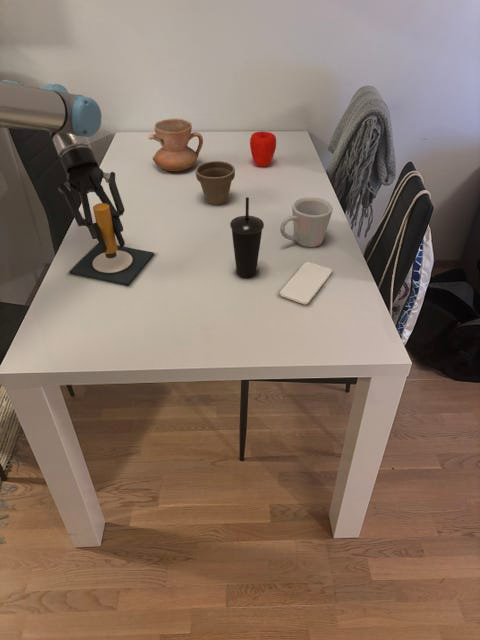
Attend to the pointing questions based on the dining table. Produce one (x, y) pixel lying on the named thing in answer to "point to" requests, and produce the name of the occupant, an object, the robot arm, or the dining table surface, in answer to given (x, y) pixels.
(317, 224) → the mug
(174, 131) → the ceramic jug
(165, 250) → the dining table surface
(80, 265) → the black coaster mat
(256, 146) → the red rounded lobed shape
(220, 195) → the flower pot
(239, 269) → the drinking cup
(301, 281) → the smartphone
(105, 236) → the marker
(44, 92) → the robot arm
